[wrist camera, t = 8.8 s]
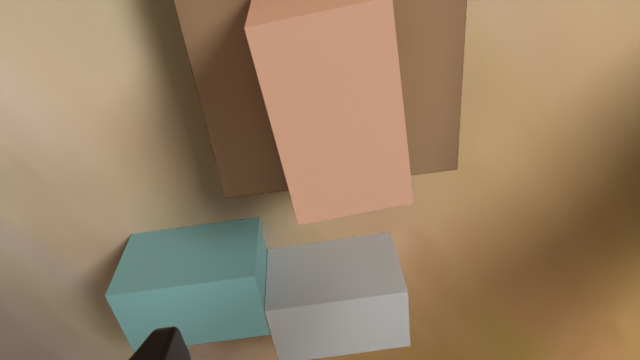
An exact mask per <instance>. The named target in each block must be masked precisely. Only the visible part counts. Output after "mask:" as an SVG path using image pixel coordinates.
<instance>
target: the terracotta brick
mask: <svg viewBox="0 0 640 360" xmlns="http://www.w3.org/2000/svg"><path fill="white" fill-rule="evenodd" d="M244 29H245V33H246V36H247V40H248V44H249V47H250V51H251V54H252V58H253V62H254V65H255V69H256V73H257V76H258V80H259V83H260V87H261V91H262V94H263V98H264V101H265V105H266V109H267V112H268V116H269V120H270V123H271V127H272V130H273V134H274V138H275V141H276V145H277V148H278V152H279V156H280V159H281V163H282V167H283V170H284V174H285V177H286V181H287V185H288V188H289V192H290V196H291V199H292V203H293V206H294V210H295V214H296V217H297V221H298V224H299V225H302V224H307V223H313V222H318V221H323V220H328V219H334V218H339V217H344V216H349V215H355V214H360V213H365V212H371V211H376V210H381V209H386V208H392V207H397V206H402V205H407V204H413V203H414V200H413V191H412V181H411V172H410V162H409V153H408V143H407V134H406V124H405V114H404V105H403V95H402V86H401V76H400V67H399V57H398V48H397V38H396V29H395V19H394V9H393V0H251V3H250V7H249V11H248V15H247V19H246V23H245V27H244Z"/></svg>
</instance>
